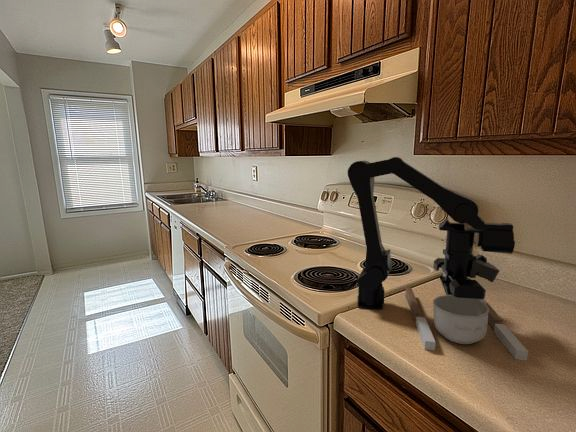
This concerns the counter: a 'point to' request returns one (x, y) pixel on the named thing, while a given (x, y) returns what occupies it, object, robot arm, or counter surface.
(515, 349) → the marker right
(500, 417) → the counter surface
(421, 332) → the bar
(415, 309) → the cradle
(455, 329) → the teacup
